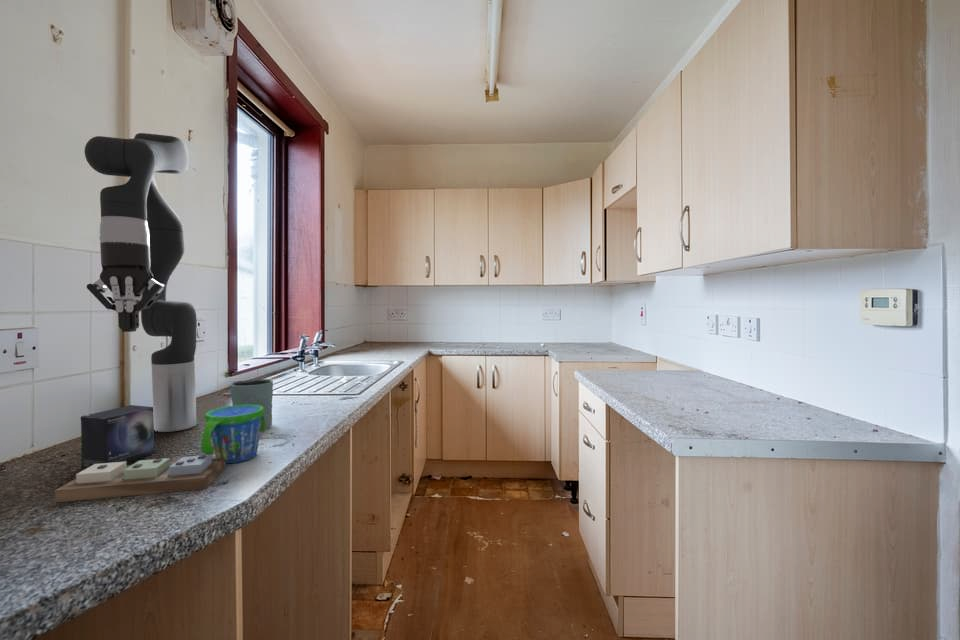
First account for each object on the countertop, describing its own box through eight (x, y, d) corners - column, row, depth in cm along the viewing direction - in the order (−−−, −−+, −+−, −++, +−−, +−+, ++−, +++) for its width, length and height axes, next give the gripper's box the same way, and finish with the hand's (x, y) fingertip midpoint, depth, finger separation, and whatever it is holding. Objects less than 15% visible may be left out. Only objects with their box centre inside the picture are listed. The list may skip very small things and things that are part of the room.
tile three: (182, 475, 82) (181, 455, 82) (212, 473, 83) (211, 453, 83) (169, 486, 77) (169, 465, 77) (201, 483, 78) (200, 462, 78)
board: (94, 478, 81) (94, 468, 81) (225, 467, 86) (225, 457, 86) (55, 502, 72) (55, 490, 72) (205, 488, 76) (204, 477, 76)
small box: (106, 471, 85) (104, 417, 85) (79, 469, 86) (77, 416, 86) (156, 453, 95) (155, 405, 95) (132, 451, 97) (130, 404, 96)
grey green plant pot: (263, 432, 110) (261, 385, 109) (222, 433, 110) (220, 385, 109) (280, 422, 120) (279, 378, 119) (243, 422, 120) (242, 378, 119)
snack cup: (224, 475, 83) (222, 421, 82) (182, 469, 86) (180, 417, 85) (284, 448, 97) (283, 403, 97) (247, 444, 101) (245, 400, 100)
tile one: (95, 483, 79) (94, 462, 79) (127, 480, 80) (126, 459, 80) (76, 494, 74) (75, 472, 74) (110, 491, 75) (110, 469, 75)
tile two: (139, 479, 81) (139, 458, 81) (170, 476, 82) (169, 456, 82) (124, 490, 76) (123, 468, 76) (157, 487, 77) (156, 466, 77)
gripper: (172, 246, 91) (175, 329, 91) (98, 244, 88) (102, 331, 88) (154, 240, 83) (157, 332, 84) (72, 239, 80) (76, 333, 81)
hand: (129, 331), depth 86 cm, fingers closed
